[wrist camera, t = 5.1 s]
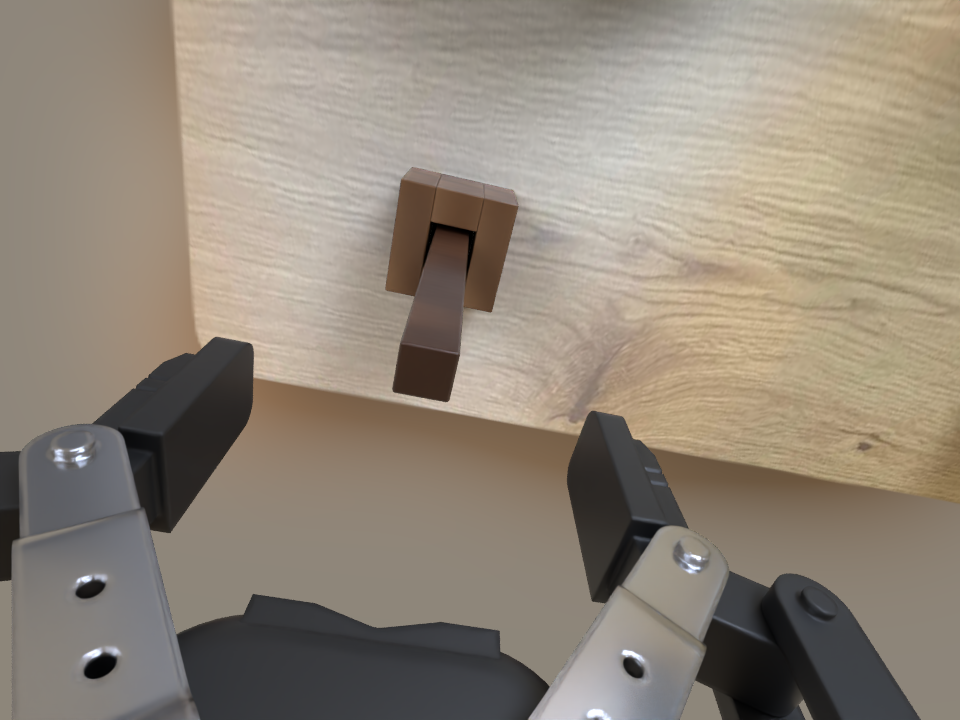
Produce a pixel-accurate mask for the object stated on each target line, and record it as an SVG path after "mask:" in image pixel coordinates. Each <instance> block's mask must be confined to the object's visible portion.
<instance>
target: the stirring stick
mask: <svg viewBox="0 0 960 720" xmlns="http://www.w3.org/2000/svg"><path fill="white" fill-rule="evenodd" d="M468 243H469V230H466V229H461V228H457V227H452V226H448V225H443V224H439V223H438V224H437V227H436V231H435V234H434V237H433V240H432V243H431V247H430V250H429V253H428V256H427V259H426V262H425V266H424V269H423V272H422V275H421V278H420V282H419V285H418V288H417V291H416V294H415V297H414V301H413V304H412V307H411V310H410V313H409V316H408V320H407V323H406V326H405V329H404V332H403V336H402V339H401V342H400V347H399V352H398V358H397V364H396V370H395V376H394V382H393V388H392V389H393V392H395V393H400V394H405V395H411V396H416V397H421V398H427V399H432V400H437V401H443V402H448V401H449V400H450V395H451V391H452V387H453V382H454V378H455V374H456V369H457V365H458V361H459V356H460V346H461V333H462V320H463V307H464V294H465V281H466V268H467V255H468Z"/></svg>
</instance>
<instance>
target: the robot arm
mask: <svg viewBox="0 0 960 720" xmlns="http://www.w3.org/2000/svg"><path fill="white" fill-rule="evenodd" d="M253 364H254V351H253V346H252V344H250V343H246V342H241V341H236V340H231V339H226V338H221V337H215V338H213V339H212V340H211V341H210V342H209V343H207V344H206V345H205V346H204V347H203V348H202V349H201V350H200V351H199V352H198V353H197V354H196V355H194V354H188V353H185V354H183V355H180V356H178V357H175V358H173V359H171V360H168V361H165V362H163V363H162V364H161V365H160V366H159V367H158V368H156V369H155V370H154V371H153V372H152V373H151V374H149V377H148V378H145V379H144V380H142V381H141V382H140V383H139V384H138V385H137V386H136V389H132V390H131V391H130V392H129V393H127V394H126V395H125V396H124V397H123V398H122V399H120V400H119V401H118V402H117V403H116V404H115V405H113V406H112V407H111V408H110V409H109V410H108V411H106V412H105V413H104V414H103V415H102V416H101V417H100V418H98V419H97V420H96V421H95V422H94V423H92V424H77V425H70V426H65V427H61V428H57V429H54V430H51V431H48V432H46V433H44V434H42V435H40V436H38V437H36V438H34V439H33V440H31V441H30V442H29V443H28V444H27V445H26V446H25V447H24V448H23V449H22V451H16V452H0V581H8V580H12V720H680V717H681V715H682V712H683V710H684V707H685V705H686V702H687V699H688V697H689V694H690V691H691V689H692V686H693V684H694V681H695V680H696V681H698V682H700V683H702V684H704V685H706V686H708V687H710V688H712V689H713V692H714V695H715V698H716V701H717V704H718V708H719V710H720V714H721V716H722V720H805V718H804V716H803V714H802V711H801V709H800V707H799V704H800V703H801V701H802V700H803V699H804V701H805V703H806V705H807V707H808V709H809V712H810V714H811V716H812V718H813V720H920V718H919V716H918V715H917V713H916V712H915V710H914V709H913V707H912V706H911V704H910V703H909V701H908V699H907V698H906V696H905V695H904V693H903V692H902V691H901V689H900V687H899V685H898V684H897V682H896V681H895V679H894V678H893V676H892V675H891V673H890V672H889V670H888V668H887V667H886V665H885V664H884V662H883V661H882V659H881V658H880V656H879V654H878V653H877V651H876V650H875V648H874V647H873V645H872V644H871V642H870V640H869V639H868V637H867V636H866V634H865V633H864V631H863V630H862V628H861V627H860V625H859V623H858V622H857V620H856V619H855V617H854V616H853V614H852V613H851V612H850V610H849V609H848V608H847V606H846V605H845V604H844V603H843V602H842V601H841V600H840V599H839V598H838V597H837V596H836V595H835V594H833V593H832V592H831V591H830V590H828V589H827V588H825V587H824V586H822V585H821V584H819V583H817V582H815V581H813V580H811V579H809V578H807V577H804V576H801V575H798V574H783V575H780V576H779V577H778V578H777V579H776V581H775V582H774V583H773V585H772V586H771V587H770V588H768V587H766V586H764V585H761V584H759V583H756V582H754V581H752V580H749V579H747V578H745V577H742V576H740V575H738V574H735V573H733V572H731V571H729V567H728V564H727V561H726V559H725V557H724V556H723V555H722V553H721V552H720V550H719V549H718V548H717V547H716V546H715V545H714V544H713V543H712V542H710V541H709V540H708V539H707V538H705V537H704V536H702V535H700V534H699V533H697V532H695V531H693V530H690V529H689V528H688V526H687V524H686V522H685V519H684V517H683V515H682V513H681V511H680V509H679V507H678V504H677V502H676V500H675V498H674V496H673V494H672V491H671V489H670V488H669V487H668V483H667V481H666V479H665V477H664V474H662V470H661V468H660V466H659V464H658V462H657V459H656V457H655V455H654V454H653V453H652V452H651V451H650V450H649V449H648V448H647V447H646V446H645V445H644V444H643V443H642V442H641V441H640V440H635V439H633V438H632V436H631V433H630V431H629V429H628V426H627V424H626V422H625V419H624V418H623V417H622V416H617V415H612V414H607V413H602V412H597V411H591V412H590V413H589V414H588V416H587V418H586V420H585V423H584V426H583V428H582V431H581V434H580V436H579V439H578V442H577V444H576V447H575V450H574V452H573V454H572V457H571V460H570V463H569V467H568V474H567V485H568V490H569V495H570V500H571V505H572V509H573V514H574V519H575V524H576V528H577V533H578V538H579V542H580V547H581V552H582V557H583V561H584V566H585V570H586V576H587V580H588V585H589V590H590V595H591V599H592V601H593V602H600V603H606V604H605V605H604V607H603V608H602V610H601V611H600V613H599V615H598V616H597V617H596V619H595V620H594V622H593V623H592V625H591V626H590V628H589V629H588V631H587V632H586V634H585V635H584V637H583V638H582V640H581V641H580V643H579V644H578V646H577V648H576V649H575V650H574V652H573V653H572V655H571V656H570V658H569V659H568V661H567V662H566V664H565V665H564V667H563V668H562V670H561V671H560V673H559V674H558V676H557V677H556V679H555V680H554V682H553V683H552V685H551V686H550V687H549V686H548V684H547V683H546V682H545V681H544V680H543V679H541V678H540V677H539V676H538V675H537V674H536V673H535V672H533V671H532V670H531V669H529V668H528V667H526V666H525V665H524V664H522V663H521V662H519V661H517V660H515V659H514V658H512V657H510V656H509V655H506V654H504V653H502V652H500V631H497V630H491V629H484V628H477V627H470V626H463V625H457V624H450V623H444V622H437V623H427V624H417V625H408V626H398V627H397V626H396V627H387V628H376V627H372V626H369V625H366V624H364V623H362V622H359V621H357V620H354V619H352V618H349V617H347V616H345V615H342V614H339V613H337V612H335V611H333V610H330V609H328V608H325V607H323V606H321V605H318V604H315V603H309V602H303V601H295V600H289V599H282V598H275V597H269V596H262V595H255V594H253V595H252V597H251V600H250V602H249V604H248V606H247V608H246V611H245V613H244V615H235V616H229V617H225V618H220V619H215V620H212V621H209V622H205V623H202V624H199V625H197V626H194V627H192V628H189V629H187V630H184V631H182V632H180V633H178V634H176V632H175V628H174V625H173V620H172V617H171V613H170V608H169V604H168V600H167V596H166V592H165V588H164V584H163V580H162V576H161V572H160V568H159V564H158V560H157V556H156V552H155V548H154V544H153V540H152V536H151V532H150V530H153V531H160V532H166V533H171V531H172V530H173V528H174V527H175V526H176V524H177V522H178V521H179V520H180V518H181V517H182V516H183V514H184V513H185V511H186V510H187V509H188V507H189V506H190V504H191V503H192V501H193V500H194V499H195V497H196V496H197V494H198V493H199V491H200V490H201V489H202V487H203V486H204V484H205V483H206V482H207V480H208V478H209V477H210V476H211V474H212V473H213V472H214V470H215V469H216V467H217V466H218V464H219V463H220V462H221V460H222V459H223V457H224V456H225V454H226V453H227V452H228V450H229V449H230V447H231V446H232V444H233V443H234V442H235V440H236V439H237V437H238V436H239V435H240V433H241V432H242V430H243V429H244V427H245V426H246V424H247V422H248V419H249V416H250V413H251V409H252V403H253Z"/></svg>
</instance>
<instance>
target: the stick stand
mask: <svg viewBox="0 0 960 720" xmlns="http://www.w3.org/2000/svg"><path fill="white" fill-rule="evenodd" d="M517 210H518V204H517V200H516V197H515V194H514V191H513V190H510V189H505V188H501V187H497V186H493V185H488V184H483V183H480V182H475V181H471V180H467V179H462V178H458V177H454V176H450V175H445V174H441V173H437V172H432V171H428V170H424V169H419V168H415V167H412V168H411V169H410V170H409V171H408V172H407V174H406V175H405V176H404V177H403V178H402V179H401V184H400V191H399V198H398V205H397V212H396V219H395V226H394V232H393V239H392V246H391V253H390V260H389V267H388V274H387V281H386V287H385V289H386V290H387V291H391V292H396V293H401V294H406V295H411V296H415V294H416V291H417V288H418V285H419V282H420V278H421V275H422V272H423V269H424V266H425V262H426V259H427V256H428V253H429V250H430V247H431V246H429V245H430V239H431V234H432V228H433V223H439V224H443V225H448V226H452V227H457V228H461V229H466V230H470V231H473V236H472V241H471V245H470V250H469V254H468V255H467V268H466V281H465V294H464V307H467V308H472V309H477V310H482V311H486V312H492V309H493V305H494V301H495V297H496V293H497V289H498V285H499V281H500V277H501V273H502V269H503V265H504V261H505V257H506V253H507V249H508V246H509V242H510V238H511V234H512V230H513V226H514V222H515V218H516V214H517Z"/></svg>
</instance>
